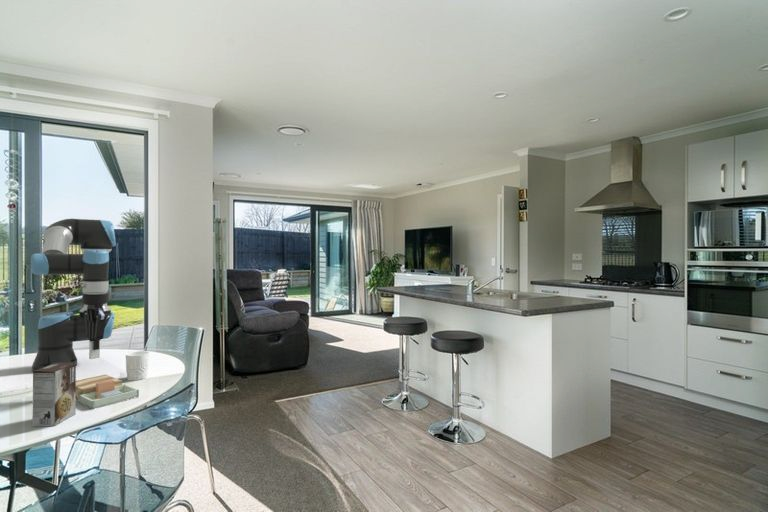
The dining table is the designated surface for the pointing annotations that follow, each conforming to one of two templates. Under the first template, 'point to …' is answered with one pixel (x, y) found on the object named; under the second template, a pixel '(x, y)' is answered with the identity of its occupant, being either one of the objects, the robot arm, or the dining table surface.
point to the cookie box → (54, 394)
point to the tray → (93, 402)
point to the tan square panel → (92, 384)
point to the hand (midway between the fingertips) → (94, 358)
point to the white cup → (137, 365)
